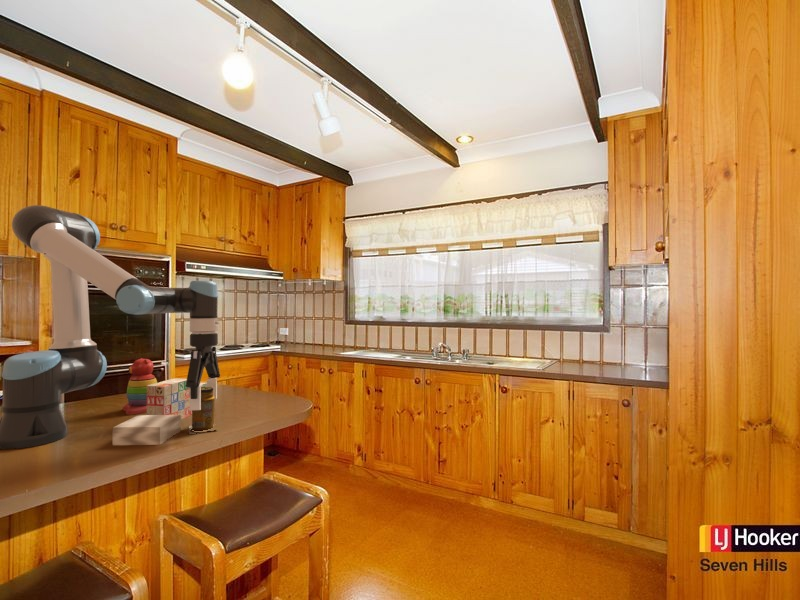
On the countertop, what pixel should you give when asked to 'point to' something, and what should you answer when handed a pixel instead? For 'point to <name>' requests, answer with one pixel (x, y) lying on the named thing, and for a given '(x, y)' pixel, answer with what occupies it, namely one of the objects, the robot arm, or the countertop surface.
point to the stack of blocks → (169, 398)
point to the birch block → (146, 430)
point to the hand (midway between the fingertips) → (204, 404)
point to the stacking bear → (139, 386)
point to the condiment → (204, 412)
